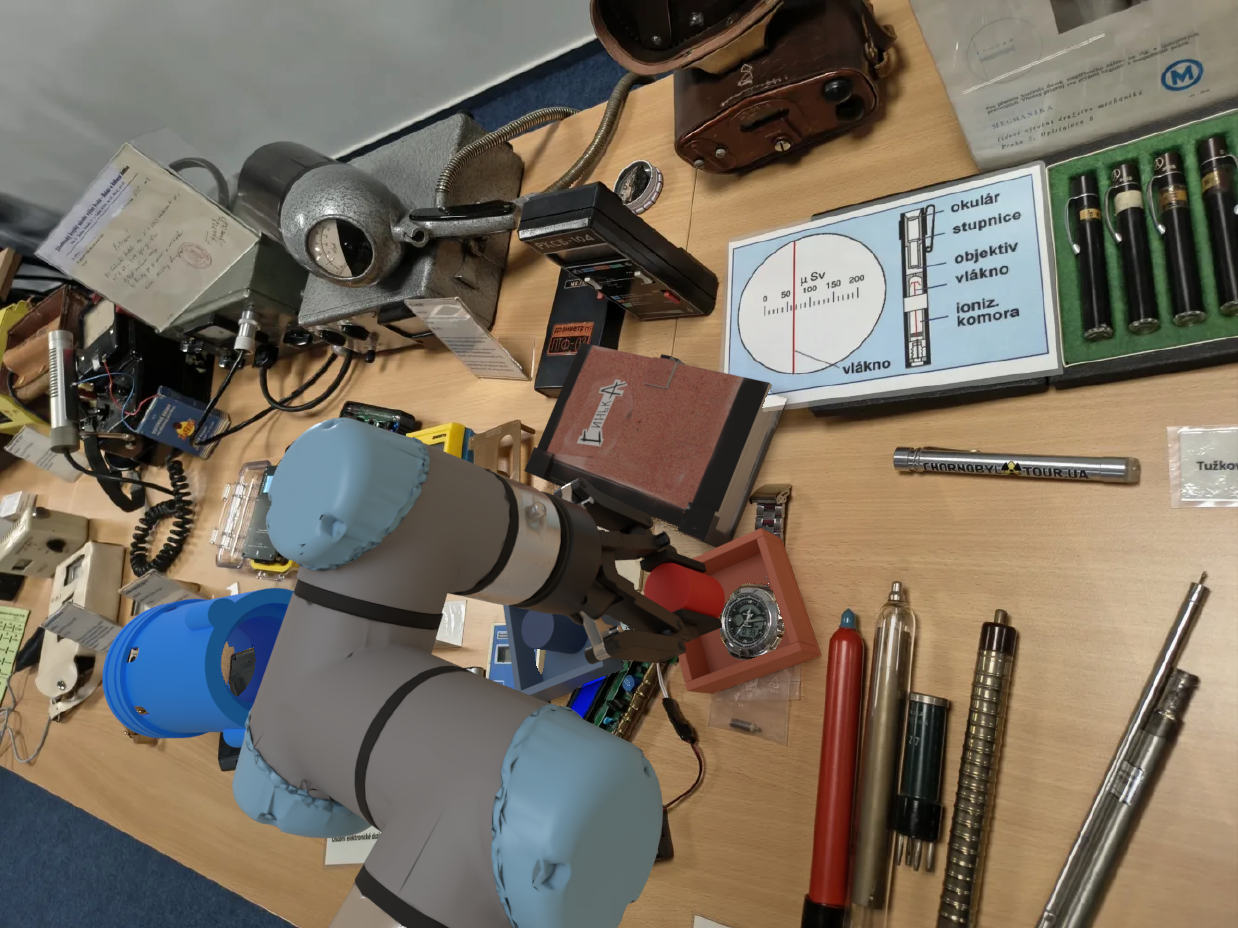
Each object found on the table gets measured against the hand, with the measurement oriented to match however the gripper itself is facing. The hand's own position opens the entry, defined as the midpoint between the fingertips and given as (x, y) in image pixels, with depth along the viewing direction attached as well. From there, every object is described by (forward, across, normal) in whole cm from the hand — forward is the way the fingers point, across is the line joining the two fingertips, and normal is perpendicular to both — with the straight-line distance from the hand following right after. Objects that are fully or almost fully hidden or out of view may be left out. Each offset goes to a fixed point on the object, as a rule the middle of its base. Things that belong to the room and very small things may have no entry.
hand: (699, 600), depth 66 cm
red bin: (+9, 0, 0) cm, 9 cm away
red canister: (0, 0, 0) cm, 0 cm away
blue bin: (+9, +5, +20) cm, 23 cm away
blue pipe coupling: (+10, +17, +73) cm, 75 cm away
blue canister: (+9, +5, +20) cm, 22 cm away
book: (+10, +22, +4) cm, 24 cm away
